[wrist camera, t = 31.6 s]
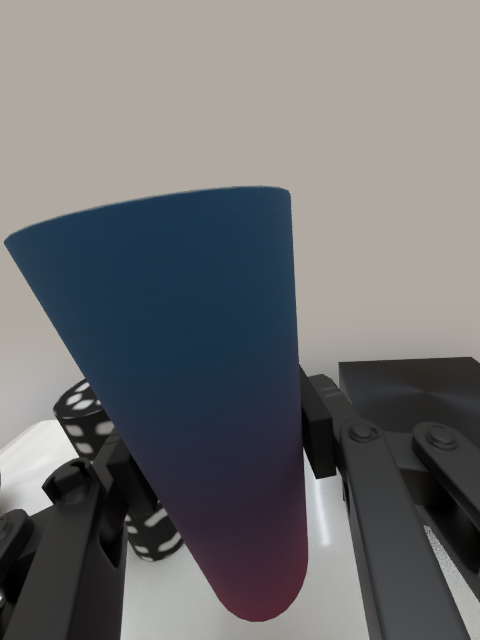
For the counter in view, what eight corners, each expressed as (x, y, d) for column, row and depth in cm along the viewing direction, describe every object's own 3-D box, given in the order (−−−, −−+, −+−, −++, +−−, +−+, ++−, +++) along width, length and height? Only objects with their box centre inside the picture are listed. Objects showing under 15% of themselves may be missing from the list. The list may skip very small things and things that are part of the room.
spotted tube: (116, 554, 26) (28, 418, 19) (155, 480, 33) (102, 364, 27) (181, 567, 24) (108, 419, 17) (207, 485, 31) (164, 360, 25)
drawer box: (459, 422, 33) (471, 356, 29) (561, 543, 20) (604, 454, 17) (341, 419, 37) (338, 362, 34) (364, 517, 25) (364, 442, 21)
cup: (304, 734, 7) (126, 156, 2) (159, 585, 11) (-32, 259, 6) (341, 505, 12) (320, 194, 7) (235, 459, 16) (173, 234, 11)
